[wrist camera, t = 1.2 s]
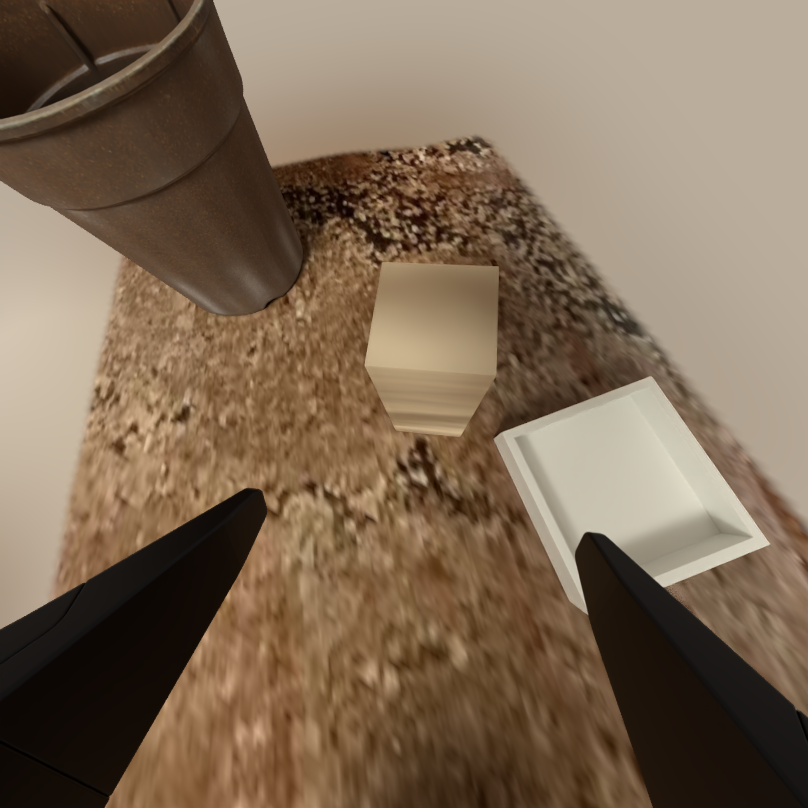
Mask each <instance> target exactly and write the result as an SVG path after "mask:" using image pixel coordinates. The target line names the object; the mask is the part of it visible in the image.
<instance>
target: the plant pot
mask: <svg viewBox="0 0 808 808" xmlns="http://www.w3.org/2000/svg"><path fill="white" fill-rule="evenodd" d="M0 181H2V182H3V183H5V184H7V185H8V186H10V187H11V188H13V189H14V190H16V191H18V192H19V193H20V194H22V195H23V196H25V197H27V198H29V199H30V200H32V201H34V202H37V203H39V204H42V205H45V206H50V207H51V208H53V209H54V210H56V211H58V212H59V213H60V214H62V215H64V216H65V217H66V218H68V219H70V220H71V221H73V222H74V223H76V224H77V225H79V226H80V227H82V228H83V229H85V230H86V231H88V232H89V233H91V234H92V235H94V236H95V237H97V238H98V239H100V240H101V241H103V242H104V243H106V244H107V245H109V246H110V247H112V248H113V249H115V250H116V251H118V252H119V253H121V254H122V255H124V256H125V257H127V258H128V259H130V260H131V261H133V262H134V263H136V264H137V265H139V266H140V267H142V268H143V269H145V270H146V271H148V272H149V273H151V274H152V275H154V276H155V277H156V278H158V279H159V280H161V281H162V282H164V283H165V284H167V285H168V286H170V287H171V288H173V289H174V290H176V291H177V292H179V293H180V294H182V295H183V296H185V297H186V298H188V299H189V300H191V301H192V302H193V303H195V304H196V305H198V306H199V307H200V308H202V309H204V310H206V311H209V312H211V313H214V314H218V315H225V316H239V315H247V314H252V313H254V312H257V311H260V310H262V309H264V308H265V306H266V304H267V303H268V302H269V301H271V300H273V299H275V298H278V297H282V296H283V295H284V294H285V293H286V292H287V291H288V290H289V289H290V288H291V286H292V285H293V284H294V282H295V280H296V278H297V276H298V274H299V272H300V269H301V265H302V260H303V249H302V244H301V241H300V238H299V236H298V234H297V231H296V229H295V226H294V224H293V221H292V219H291V216H290V214H289V211H288V209H287V206H286V204H285V201H284V199H283V196H282V194H281V191H280V189H279V186H278V184H277V181H276V179H275V176H274V174H273V171H272V169H271V166H270V164H269V161H268V159H267V156H266V153H265V151H264V148H263V146H262V143H261V141H260V138H259V135H258V133H257V130H256V128H255V125H254V123H253V120H252V118H251V115H250V112H249V110H248V107H247V105H246V102H245V99H244V97H243V85H242V78H241V75H240V73H239V70H238V68H237V65H236V62H235V60H234V57H233V54H232V52H231V49H230V46H229V44H228V41H227V38H226V36H225V33H224V31H223V27H222V25H221V22H220V19H219V16H218V13H217V11H216V8H215V5H214V2H213V0H0Z"/></svg>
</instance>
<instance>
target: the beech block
mask: <svg viewBox="0 0 808 808" xmlns="http://www.w3.org/2000/svg"><path fill="white" fill-rule="evenodd" d="M498 286H499V266H475V265H448V264H421V263H394V262H382V267H381V273H380V279H379V285H378V291H377V296H376V302H375V308H374V314H373V319H372V325H371V331H370V337H369V343H368V348H367V354H366V360H365V368H366V370H367V372H368V374H369V376H370V378H371V380H372V382H373V384H374V386H375V388H376V390H377V392H378V394H379V396H380V399H381V401H382V403H383V405H384V407H385V409H386V411H387V413H388V415H389V417H390V419H391V421H392V423H393V425H394V427H395V429H396V431H406V432H416V433H426V434H436V435H446V436H456V437H460V436H461V434H462V433H463V431H464V429H465V428H466V426H467V424H468V423H469V421H470V419H471V417H472V416H473V414H474V412H475V411H476V409H477V407H478V406H479V404H480V402H481V401H482V399H483V397H484V396H485V394H486V392H487V391H488V389H489V387H490V385H491V384H492V382H493V380H494V379H495V377H496V366H497V326H498Z"/></svg>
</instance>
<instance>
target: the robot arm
mask: <svg viewBox="0 0 808 808" xmlns="http://www.w3.org/2000/svg"><path fill="white" fill-rule="evenodd" d="M266 515H267V506H266V503H265V499H264V495H263V492H262V491H261V490H260V489H255V488H246V489H244V490H242V491H240V492H238V493H237V494H235V495H233V496H232V497H230V498H228V499H226V500H225V501H223V502H221V503H219V504H218V505H216V506H214V507H213V508H211V509H209V510H207V511H206V512H204V513H202V514H201V515H199V516H197V517H195V518H194V519H192V520H190V521H189V522H187V523H185V524H183V525H182V526H180V527H178V528H177V529H175V530H173V531H171V532H170V533H168V534H166V535H165V536H163V537H161V538H159V539H158V540H156V541H154V542H152V543H151V544H149V545H147V546H146V547H144V548H142V549H140V550H139V551H137V552H135V553H134V554H132V555H130V556H128V557H127V558H125V559H123V560H122V561H120V562H118V563H116V564H115V565H113V566H111V567H110V568H108V569H106V570H104V571H103V572H101V573H99V574H97V575H96V576H94V577H92V578H91V579H89V580H88V581H87V582H86V583H82V584H80V585H78V586H77V587H75V588H73V589H72V590H70V591H68V592H66V593H65V594H63V595H61V596H60V597H58V598H56V599H54V600H52V601H51V602H49V603H47V604H45V605H44V606H42V607H40V608H38V609H37V610H35V611H33V612H31V613H30V614H28V615H26V616H24V617H22V618H21V619H19V620H17V621H15V622H13V623H11V624H9V625H8V626H6V627H4V628H2V629H0V808H105V806H106V804H107V802H108V801H109V798H110V797H109V796H111V795H112V793H113V791H114V790H115V788H116V786H117V784H118V783H119V781H120V779H121V778H122V776H123V774H124V772H125V771H126V769H127V767H128V765H129V764H130V762H131V760H132V758H133V757H134V755H135V753H136V752H137V750H138V748H139V746H140V745H141V743H142V741H143V739H144V738H145V736H146V734H147V732H148V731H149V729H150V727H151V726H152V724H153V722H154V720H155V719H156V717H157V715H158V713H159V712H160V710H161V708H162V706H163V705H164V703H165V701H166V700H167V698H168V696H169V694H170V693H171V691H172V689H173V687H174V686H175V684H176V682H177V680H178V679H179V677H180V675H181V674H182V672H183V670H184V668H185V667H186V665H187V663H188V661H189V660H190V658H191V656H192V654H193V653H194V651H195V649H196V648H197V646H198V644H199V642H200V641H201V639H202V637H203V635H204V634H205V632H206V630H207V628H208V627H209V625H210V623H211V622H212V620H213V618H214V616H215V615H216V613H217V611H218V609H219V608H220V606H221V604H222V602H223V601H224V599H225V597H226V596H227V594H228V592H229V590H230V589H231V587H232V585H233V583H234V582H235V580H236V578H237V576H238V575H239V573H240V571H241V569H242V567H243V565H244V563H245V561H246V559H247V557H248V555H249V552H250V550H251V548H252V546H253V544H254V542H255V539H256V537H257V535H258V533H259V531H260V529H261V526H262V524H263V522H264V520H265V518H266ZM575 562H576V566H577V570H578V574H579V578H580V583H581V587H582V591H583V595H584V599H585V603H586V608H587V612H588V616H589V620H590V623H591V627H592V630H593V633H594V636H595V639H596V642H597V645H598V648H599V651H600V654H601V657H602V660H603V663H604V666H605V669H606V671H607V674H608V677H609V680H610V683H611V686H612V689H613V692H614V695H615V698H616V701H617V704H618V707H619V710H620V712H621V715H622V718H623V721H624V724H625V727H626V730H627V733H628V736H629V739H630V742H631V745H632V748H633V751H634V753H635V756H636V759H637V762H638V765H639V768H640V771H641V774H642V777H643V780H644V783H645V786H646V789H647V792H648V794H649V797H650V800H651V803H652V806H653V808H808V717H807V716H805V715H804V714H803V713H802V712H801V711H799V710H796V709H795V707H794V705H793V704H792V703H791V702H790V701H789V700H788V699H786V698H785V697H784V696H783V695H782V694H781V693H780V692H779V691H778V690H776V689H775V688H774V687H773V686H772V685H771V684H770V683H769V682H768V681H766V680H765V679H764V678H763V677H762V676H761V675H760V674H759V673H758V672H757V671H755V670H754V669H753V668H752V667H751V666H750V665H749V664H748V663H747V662H745V661H744V660H743V659H742V658H741V657H740V656H739V655H738V654H737V653H735V652H734V651H733V650H732V649H731V648H730V647H729V646H728V645H727V644H725V643H724V642H723V641H722V640H721V639H720V638H719V637H718V636H717V635H716V634H714V633H713V632H712V631H711V630H710V629H709V628H708V627H707V626H706V625H704V624H703V623H702V622H701V621H700V620H699V619H698V618H697V617H696V616H694V615H693V614H692V613H691V612H690V611H689V610H688V609H687V608H686V607H684V606H683V605H682V604H681V603H680V602H679V601H678V600H677V599H676V598H675V597H673V596H672V595H671V594H670V593H669V592H668V591H667V590H666V589H665V588H663V587H662V586H661V585H660V584H659V583H658V582H657V581H656V580H655V579H653V578H652V577H651V576H650V575H649V574H648V573H647V572H646V571H645V570H644V569H642V568H641V567H640V566H639V565H638V564H637V563H636V562H635V561H634V560H632V559H631V558H630V557H629V556H628V555H627V554H626V553H625V552H624V551H622V550H621V549H620V548H619V547H618V546H617V545H616V544H615V543H614V542H612V541H611V540H610V539H609V538H608V537H607V536H606V535H604V534H602V533H595V532H586V533H584V534H583V536H582V538H581V540H580V542H579V544H578V547H577V549H576V551H575Z"/></svg>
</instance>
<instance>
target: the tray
mask: <svg viewBox="0 0 808 808" xmlns="http://www.w3.org/2000/svg"><path fill="white" fill-rule="evenodd" d="M494 441H495V444H496V446H497V448H498V450H499V452H500V454H501V456H502V458H503V461H504V463H505V465H506V467H507V469H508V471H509V473H510V476H511V478H512V480H513V482H514V484H515V486H516V488H517V490H518V493H519V495H520V497H521V499H522V501H523V503H524V505H525V508H526V510H527V512H528V514H529V516H530V518H531V520H532V522H533V525H534V527H535V529H536V531H537V533H538V535H539V537H540V539H541V542H542V544H543V546H544V548H545V550H546V552H547V554H548V557H549V559H550V561H551V563H552V565H553V567H554V569H555V571H556V574H557V576H558V578H559V580H560V582H561V584H562V586H563V588H564V591H565V593H566V595H567V597H568V599H569V601H570V602H571V603H573V604H574V605H575V606H577V607H578V608H579V609H581V610H582V611H583V612H585V613H586V614H587V615H588V612H587V608H586V603H585V599H584V595H583V591H582V587H581V583H580V578H579V574H578V570H577V566H576V562H575V551H576V549H577V547H578V544H579V542H580V540H581V538H582V536H583V534H584V533H586V532H595V533H602V534H604V535H606V536H607V537H608V538H609V539H610V540H611V541H612V542H614V543H615V544H616V545H617V546H618V547H619V548H620V549H621V550H622V551H624V552H625V553H626V554H627V555H628V556H629V557H630V558H631V559H632V560H634V561H635V562H636V563H637V564H638V565H639V566H640V567H641V568H642V569H644V570H645V571H646V572H647V573H648V574H649V575H650V576H651V577H652V578H653V579H655V580H656V581H657V582H658V583H659V584H660V585H661V586H662V587H663V588H664V587H666V586H669V585H671V584H674V583H676V582H679V581H681V580H684V579H686V578H689V577H691V576H693V575H696V574H698V573H701V572H703V571H706V570H708V569H711V568H713V567H716V566H718V565H721V564H723V563H725V562H728V561H730V560H733V559H735V558H738V557H740V556H743V555H745V554H748V553H750V552H753V551H755V550H758V549H760V548H762V547H765V546H767V545H770V543H769V542H768V541H767V539H766V538H765V536H764V535H763V533H762V532H761V531H760V529H759V528H758V526H757V525H756V524H755V522H754V521H753V519H752V518H751V516H750V515H749V514H748V512H747V511H746V509H745V508H744V507H743V505H742V504H741V502H740V501H739V499H738V498H737V497H736V495H735V494H734V492H733V491H732V489H731V488H730V487H729V485H728V484H727V482H726V481H725V480H724V478H723V477H722V475H721V474H720V472H719V471H718V470H717V468H716V467H715V465H714V464H713V463H712V461H711V460H710V458H709V457H708V455H707V454H706V453H705V451H704V450H703V448H702V447H701V446H700V444H699V443H698V441H697V440H696V438H695V437H694V436H693V434H692V433H691V431H690V430H689V428H688V427H687V426H686V424H685V423H684V421H683V420H682V419H681V417H680V416H679V414H678V413H677V411H676V410H675V409H674V407H673V406H672V404H671V403H670V402H669V400H668V399H667V397H666V396H665V394H664V393H663V392H662V390H661V389H660V387H659V386H658V385H657V383H656V382H655V380H654V379H653V377H652V376H650V377H647V378H645V379H642V380H639V381H637V382H634V383H631V384H629V385H626V386H623V387H621V388H618V389H615V390H613V391H610V392H607V393H605V394H602V395H600V396H597V397H594V398H592V399H589V400H586V401H584V402H581V403H578V404H576V405H573V406H570V407H568V408H565V409H562V410H560V411H557V412H554V413H552V414H549V415H546V416H544V417H541V418H538V419H536V420H533V421H530V422H528V423H525V424H523V425H520V426H517V427H515V428H512V429H509V430H507V431H504V432H501V433H500V434H499V435H498V436H497V437H495V438H494Z"/></svg>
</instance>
